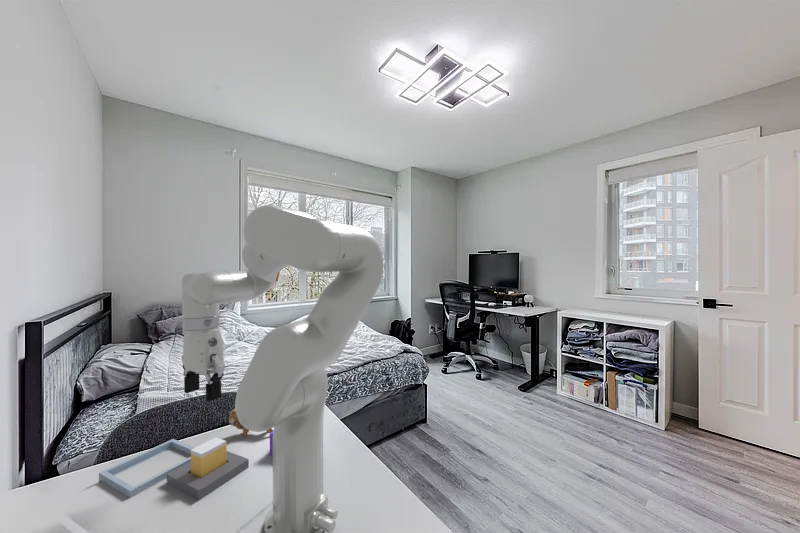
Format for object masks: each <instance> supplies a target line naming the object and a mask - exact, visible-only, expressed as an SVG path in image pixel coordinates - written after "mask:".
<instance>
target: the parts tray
mask: <svg viewBox="0 0 800 533" xmlns="http://www.w3.org/2000/svg"><path fill="white" fill-rule="evenodd" d="M194 448H196V447H195V446H192V445H190V444H187V443H185V442H182V441H179V440H177V439H176V438H171V439H169V440H168V441H165V442H163V443H161V444H159V445H157V446H154V447H152V448H149V449H148V450H146V451H143V452H141V453H140V454H139V453H138V454H137V455H134V456H132V457H130V458H128V459H126V460H124V461H122V462H119V463H117V464H115V465H113V466H111V467H108V468H106V469H104V470H102V471H99V472H98V483H99V484H101V483H102V482H103V483H105V484H106V485H108V486H110V487H112V488H114V489H116V491H118V492H119V493H122V494H123V495H125V496H127V497H129V498H130V499H131V498H133V497H135V496H137V495H139V494H140V493H142V492H143V491H144V492H145V490H148V489H149V488H151V487H153V486H155V485H157V484H158V483H160V482H162V481H165V479H166V480H167V474H168V473H170V472H172V471H174V470H176V469H178V468H179V467H181V466H183V465H185V464H187V463H189V462H190V461H191V450H192V449H194ZM172 449H176V450H178V451H181V452H183V453H185V454H187V455H190V456H189V457H187V458H186V459H184V460H182V461H180V462H178V463H176V464H174V465H172V466H170V467H168V468H166V469H164V470H163V471H161V472H158V473H157V474H155V475H153V476H151V477H149V478H147V479H146V480H144V481H142V482H140V483H138V484H136V485H134V486H133V485H131V484H129V482H125V481H124V480H122V479H121V478H119V477H117V475H119V474H122V473H123V472H126V471H128V470H129V469H132V468H133V467H136V466H138V465H140V464H143V463H145V462H147V461H149V460H151V459H152V458H155V457H157V456H158V455H159V456H160V455H161V454H163V453H165V452H167V451H170V450H172Z"/></svg>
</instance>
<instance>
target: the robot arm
mask: <svg viewBox="0 0 800 533" xmlns="http://www.w3.org/2000/svg"><path fill="white" fill-rule="evenodd" d="M242 230H243V231H242V232H243V237H244V241H245V242H246V244H245V245H244V246H243V247H242V251H241V258H242V261H243V264H244V266H245V267H246V268H247V269H245V270H221V271H220V270H218V271H213V270H212V271H205V272H199V271H198V272H196V271H195V272H187V273H185V274H183V276H182V278H181V296H182V297H181V298H182V299H181V302H182V303H181V305H182V307H181V308H182V309H181V311H182V312H181V313H182V333H183V334H184V335H183V346H182V348H183V349H182V355H181V362H182V369H183V372H182V373H183V377H184V379H183V380H184V381H183V383H184V385H183V386H184V387H183V388H184V394H189V393H193V392H196V391H198V390H200V375H202V376H204V377H205V380H206V382H207V383H205V401H206V402H212V401H215V400H217V399H220V398H221V397H222V381H223V377H224V374H225V373H224V372H225V368H226V365H225V361H224V360H225V359H224V358H225V356H224V346H223V345H224V344H223V338H222V332H221V330H220V328H221V327H220V305H226V304H232V303H241V302H248V301H250V300H251V301H252V300H254V299H256V298H258V297H260V296H261V295H263V294H264V293H266V292H267V291H268V290H270V289H272V287H273V286H274V284H275V282H276V281H277V277H278V273H279V272H282V271H283V270H284V269H286V268H287V267H289V266H290V267H293V268H295V269H297V270H300V271H305V272H311V273H331V272H332V273H333V272H335V273H337V272H338V273H337V275H336V276H335V278H334V279H333V280H332V281H330V283H328V285H327V286H326V287H325V288H324V289H323V291H322V292H321V293H320V295H319V297H318V299H317V300H316V303H315V305H314V307H313V308H312V310H311V311H310V313H309V314H308V315H307V317H305V318H303V319H301V320H297V321H294V322H289V323H286V324H282V325H280V326H277V327H274V328H273V329H272V330H270V331H269V332H268V333H266V335H265V336H264V337H263V338H262V340H261V341H260V342H259V345H258V346H257V349H256V351H255V352H254V354H253V356H252V359H251V360H250V362H249V365H248V367H247V369H246V371H245V373H244V375H243V377H242V379H241V381H240V384H239V385H238V389H237V391H236V395H235V402H234V407H235V408H234V409H235V410H236V415H237V418H238V420H239V422H240V423H241V425H242V426H243V427H244V428H246V429H248V430H249V432H250V431H251V432H255V433H261V432H267V431H266V430H269V429H271V428H272V429H273V430H274V431H273V455H272V508H271V509H270V510H269V511H268V512H267V514H266V516H265V520H264V526H263V528H264V533H323V532H326V533H333V532H334V531H335V528H336V521H335V520H336V519H337V518H338V515H339V513H338V512H339V511H338V510H336V509H333V508H332V505H331V501H330V500H329V499H328V495H326V494H324V418H325V417H324V416H325V415H324V414H325V407H326V400H327V396H328V395H327V394H328V388H329V381H328V380H329V379H328V375H327V371H326V368H329V367H330V366H332V365H333V364H334V363H335V362H337V361H338V359H339V358H340V356H341V354H342V353H343V351H344V350H345V347H346V345H347V344H348V343H349V340H350V338H351V337H352V336H353V335H352V334H353V333H354V332H355V329H356V328H357V326H358V325H359V322H360V320H361V318H362V316H363V315H364V314H365V311H366V310H367V309H368V306H369V305H370V303H371V302H372V300H373V298H374V296H375V294H376V293H377V292H378V289H379V287H380V284H381V282H382V279H383V274H384V255H383V252H382V248H381V247H380V245H379V243H378V241H377V239H376V238H375V237H374V236H373V235H372V234H371V233H370V232H368V231H367V230H365V229H363V228H361V227H357V226H354V225H351V224H344V223H339V222H334V221H329V220H328V221H327V220H321V219H318V218H315V217H314V216H312V215H311V214H308V212H304V211H301V210H299V209H298V210H297V209H292V208H287V207H283V206H278V205H271V204H265V205H260V206H257V207H256V208H255V209H253V210H251V212H250V213H249V214H248V216H247V217H246V219H245V221H244V224H243V229H242ZM211 374H212V376H211Z"/></svg>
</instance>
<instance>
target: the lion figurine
mask: <svg viewBox="0 0 800 533" xmlns="http://www.w3.org/2000/svg"><path fill="white" fill-rule="evenodd" d="M228 422H229V424H230V426H233V427H235V428H236V429H237V430H242V433H243V436H244V438H247V437H248V435H249V434H248V433H249V432H250V430H248V429H246V428H244V427H243V426H242V425H241V423H240V422H239V420H238V418H237V415H236V410H235V408H233V409H232V410H231V411H229V418H228ZM273 430H274V429H273V428H271V429H269V430H266V431H265V432H268V433H269V434H270V433H271V432H272V431H273Z"/></svg>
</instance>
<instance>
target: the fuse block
mask: <svg viewBox="0 0 800 533" xmlns="http://www.w3.org/2000/svg"><path fill="white" fill-rule="evenodd" d="M249 467H250V466H249V458H246V457H245V456H241V455H239V454H236V453H233V452H231V451H228V450H226V464H224V465H222V466H221V467H219V468H217V469H216V470H214V471H212V472H211V473H209V474H208V475H206V476H204V477H203V478H199V477H197V476H194V475H192V474H191V461H190V462H189V463H187V464H185V465H183V466H181V467H179V468H178V469H176V470H174V471H172V472H170V473H168V474H167V478H166V484H167V485H169V486H171V487H173V488H175V489H177V490H179V491H181V492H183V493H185V494H186V495H188V496H191V497H193V498H194V499H196V500H198V501H201V500H202V499H203V498H205V497H207V496H208V495H209V494H211V493H212V492H214V491H215V490H217V489H218V488H220V487H222V486H223V485H225V483H227V482H229V481H231V480H232V479H233V478H235V477H236V476H238V475H239V474H241V473H243V472H244V471H246V470H247V469H248V468H249Z"/></svg>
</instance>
